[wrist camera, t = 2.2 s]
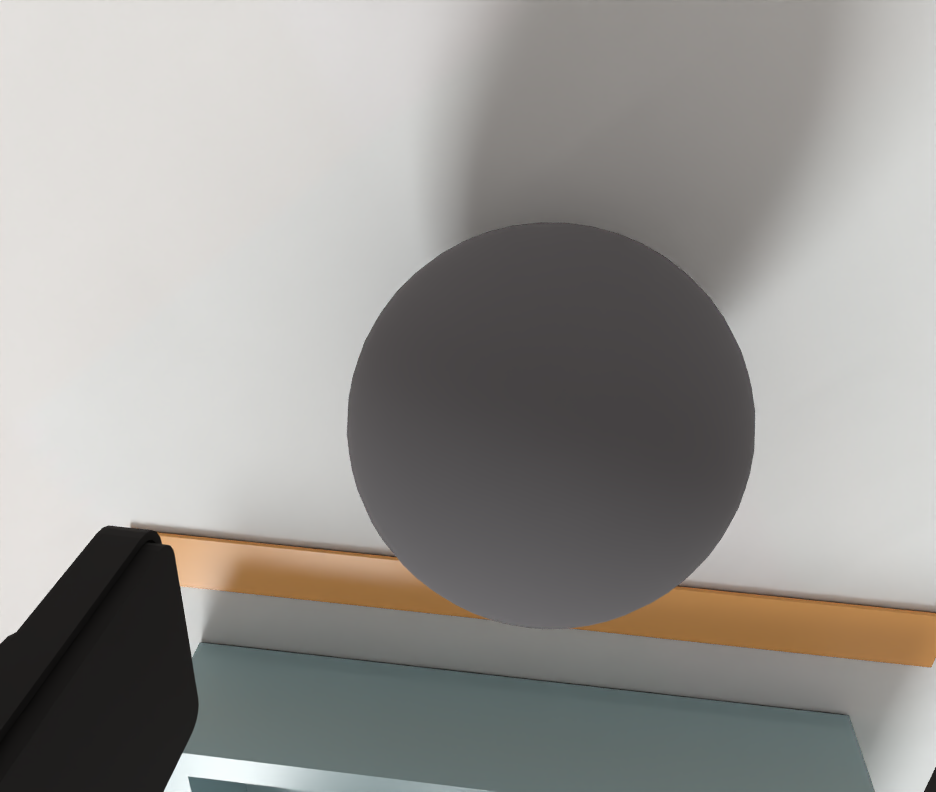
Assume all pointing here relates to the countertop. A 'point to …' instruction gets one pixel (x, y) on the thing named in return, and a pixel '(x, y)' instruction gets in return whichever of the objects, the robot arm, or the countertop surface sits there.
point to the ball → (551, 425)
